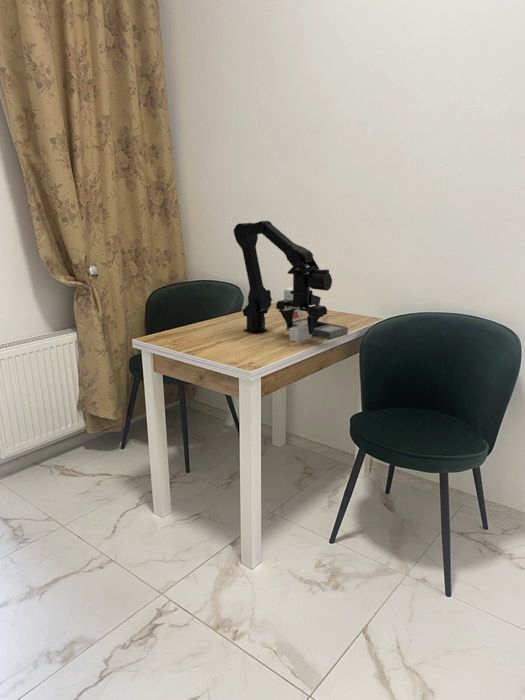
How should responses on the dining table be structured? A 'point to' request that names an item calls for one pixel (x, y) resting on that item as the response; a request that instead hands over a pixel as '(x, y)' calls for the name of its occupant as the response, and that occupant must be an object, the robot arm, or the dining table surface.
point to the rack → (324, 329)
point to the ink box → (290, 297)
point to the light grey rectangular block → (300, 333)
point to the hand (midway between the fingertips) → (300, 331)
